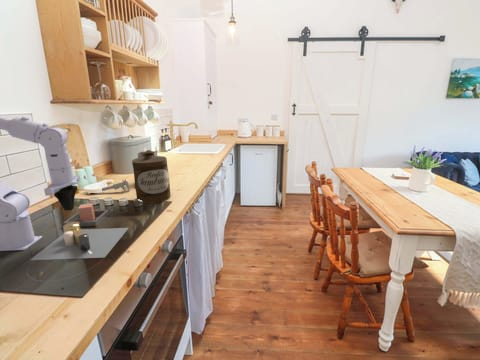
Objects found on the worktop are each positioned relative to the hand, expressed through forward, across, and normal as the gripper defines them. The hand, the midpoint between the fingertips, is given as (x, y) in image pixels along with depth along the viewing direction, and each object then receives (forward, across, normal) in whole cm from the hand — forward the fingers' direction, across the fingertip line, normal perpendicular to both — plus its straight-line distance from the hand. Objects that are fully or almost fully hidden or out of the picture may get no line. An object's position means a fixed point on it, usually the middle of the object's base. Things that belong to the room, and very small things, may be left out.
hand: (69, 209), depth 83 cm
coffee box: (+10, +66, -6) cm, 67 cm away
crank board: (+9, -6, -6) cm, 13 cm away
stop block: (+9, +11, +1) cm, 14 cm away
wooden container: (+10, +36, -16) cm, 41 cm away
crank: (+8, -6, -5) cm, 11 cm away
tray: (+9, +11, +1) cm, 15 cm away
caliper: (+10, +46, +9) cm, 48 cm away
